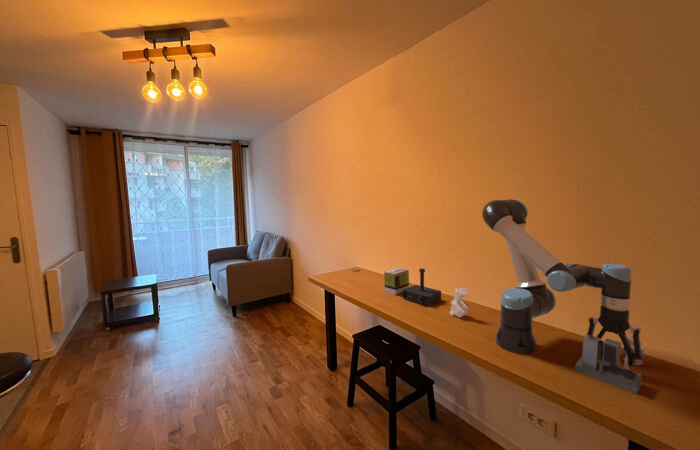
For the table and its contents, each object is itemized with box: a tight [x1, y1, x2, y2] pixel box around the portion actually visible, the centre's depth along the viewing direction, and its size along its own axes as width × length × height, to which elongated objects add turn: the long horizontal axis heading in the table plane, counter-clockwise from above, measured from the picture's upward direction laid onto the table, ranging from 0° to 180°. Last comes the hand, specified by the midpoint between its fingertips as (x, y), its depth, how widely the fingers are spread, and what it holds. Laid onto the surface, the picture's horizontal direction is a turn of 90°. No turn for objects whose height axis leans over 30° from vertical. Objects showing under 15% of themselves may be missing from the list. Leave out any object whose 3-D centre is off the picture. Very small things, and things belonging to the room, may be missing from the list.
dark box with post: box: [402, 268, 442, 307], centre depth 176 cm, size 19×17×20 cm
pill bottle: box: [622, 336, 644, 366], centre depth 106 cm, size 5×5×9 cm
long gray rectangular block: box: [601, 338, 622, 367], centre depth 102 cm, size 5×4×10 cm
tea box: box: [383, 267, 410, 296], centre depth 195 cm, size 15×10×15 cm, turn 130°
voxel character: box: [448, 287, 470, 319], centre depth 151 cm, size 7×12×15 cm
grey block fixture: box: [574, 334, 643, 395], centre depth 97 cm, size 16×8×12 cm, turn 36°
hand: (611, 367), depth 103 cm, fingers open, 7 cm apart
